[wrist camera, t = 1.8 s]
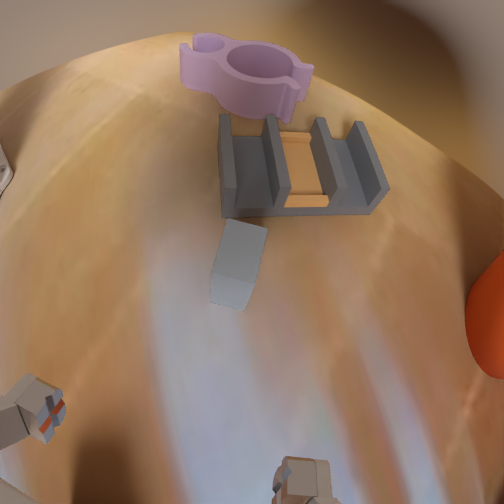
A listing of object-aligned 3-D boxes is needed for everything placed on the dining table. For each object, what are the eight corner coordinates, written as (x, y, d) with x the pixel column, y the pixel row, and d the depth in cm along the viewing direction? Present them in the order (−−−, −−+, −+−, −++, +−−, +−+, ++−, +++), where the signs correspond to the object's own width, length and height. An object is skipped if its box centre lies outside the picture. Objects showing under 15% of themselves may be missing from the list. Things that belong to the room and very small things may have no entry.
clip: (165, 91, 46) (163, 56, 39) (206, 56, 51) (207, 25, 45) (282, 134, 44) (292, 98, 38) (309, 92, 49) (319, 60, 43)
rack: (222, 218, 37) (225, 188, 32) (217, 146, 42) (219, 114, 36) (369, 214, 40) (390, 189, 35) (348, 149, 45) (363, 121, 39)
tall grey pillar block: (210, 302, 33) (211, 272, 25) (223, 259, 35) (227, 218, 27) (244, 311, 33) (255, 284, 25) (254, 267, 35) (268, 228, 27)
